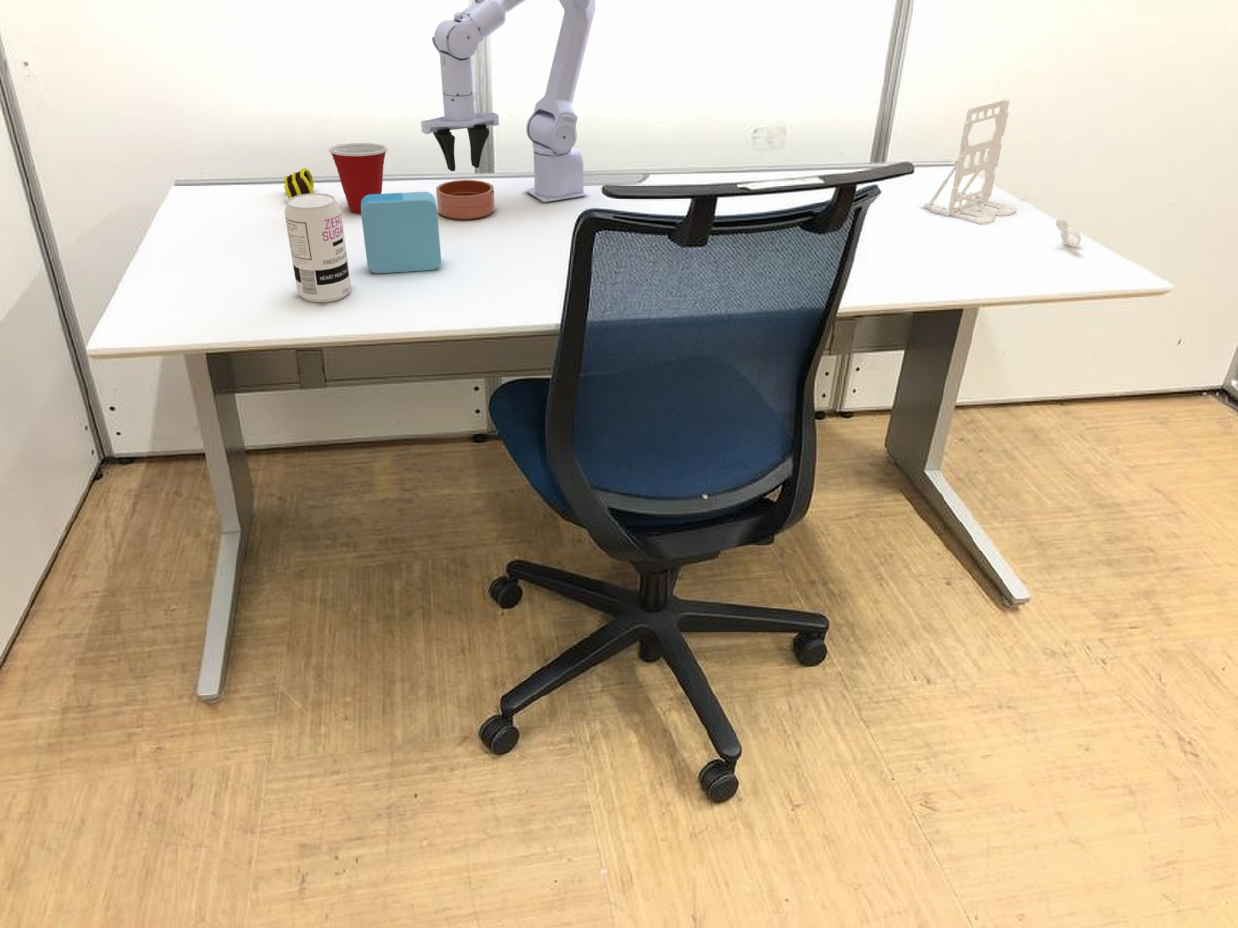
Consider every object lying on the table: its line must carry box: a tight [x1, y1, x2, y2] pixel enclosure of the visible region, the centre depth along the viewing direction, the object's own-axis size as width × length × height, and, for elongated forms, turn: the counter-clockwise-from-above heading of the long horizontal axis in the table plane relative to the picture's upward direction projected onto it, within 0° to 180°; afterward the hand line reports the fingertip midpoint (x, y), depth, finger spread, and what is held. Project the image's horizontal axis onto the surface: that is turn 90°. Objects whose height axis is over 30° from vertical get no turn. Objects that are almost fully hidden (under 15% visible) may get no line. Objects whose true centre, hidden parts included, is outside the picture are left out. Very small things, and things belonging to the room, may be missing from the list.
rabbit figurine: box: [1055, 218, 1082, 251], centre depth 181 cm, size 6×4×8 cm
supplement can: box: [284, 192, 352, 303], centre depth 155 cm, size 8×8×15 cm
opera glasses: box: [283, 167, 315, 200], centre depth 200 cm, size 10×5×5 cm, turn 15°
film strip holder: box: [923, 99, 1018, 225], centre depth 194 cm, size 14×14×20 cm
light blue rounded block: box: [360, 191, 442, 274], centre depth 166 cm, size 12×4×12 cm, turn 102°
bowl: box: [435, 179, 496, 221], centre depth 193 cm, size 11×11×5 cm
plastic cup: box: [328, 142, 389, 214], centre depth 192 cm, size 11×11×12 cm
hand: (463, 168), depth 190 cm, fingers open, 4 cm apart
